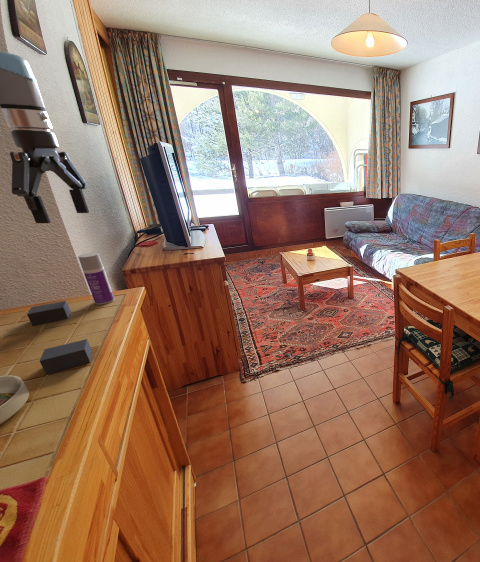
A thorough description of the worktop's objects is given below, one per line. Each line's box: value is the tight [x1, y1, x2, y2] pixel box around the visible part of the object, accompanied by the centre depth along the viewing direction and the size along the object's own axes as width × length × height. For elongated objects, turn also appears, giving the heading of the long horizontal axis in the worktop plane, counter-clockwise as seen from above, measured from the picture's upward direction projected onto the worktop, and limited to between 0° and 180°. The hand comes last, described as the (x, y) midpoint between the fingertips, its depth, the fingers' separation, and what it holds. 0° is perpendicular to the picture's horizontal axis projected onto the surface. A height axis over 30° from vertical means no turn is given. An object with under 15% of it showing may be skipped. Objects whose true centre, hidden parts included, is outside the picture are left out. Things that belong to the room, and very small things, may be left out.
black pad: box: [26, 300, 71, 327], centre depth 84 cm, size 7×5×4 cm
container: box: [77, 252, 116, 306], centre depth 92 cm, size 5×5×15 cm
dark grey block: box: [39, 338, 93, 375], centre depth 67 cm, size 7×5×4 cm
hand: (64, 217), depth 83 cm, fingers open, 13 cm apart
